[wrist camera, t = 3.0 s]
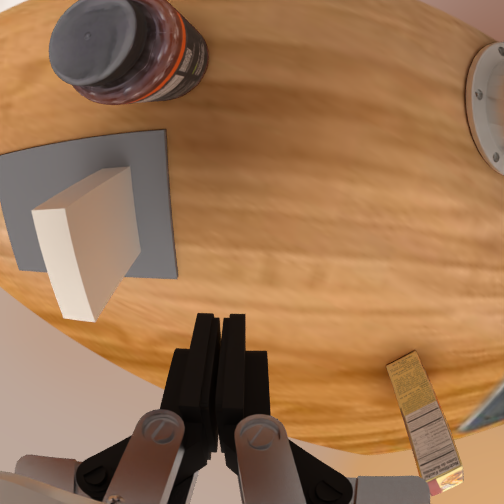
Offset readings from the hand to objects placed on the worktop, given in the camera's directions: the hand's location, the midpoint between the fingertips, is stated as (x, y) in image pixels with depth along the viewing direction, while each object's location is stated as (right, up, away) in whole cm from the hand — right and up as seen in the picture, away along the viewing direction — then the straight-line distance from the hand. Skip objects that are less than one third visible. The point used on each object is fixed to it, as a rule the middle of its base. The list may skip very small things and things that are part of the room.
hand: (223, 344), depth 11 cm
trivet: (-14, +7, +12) cm, 20 cm away
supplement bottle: (-5, +17, +7) cm, 19 cm away
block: (-9, +6, +12) cm, 16 cm away
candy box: (+20, -12, +21) cm, 31 cm away
